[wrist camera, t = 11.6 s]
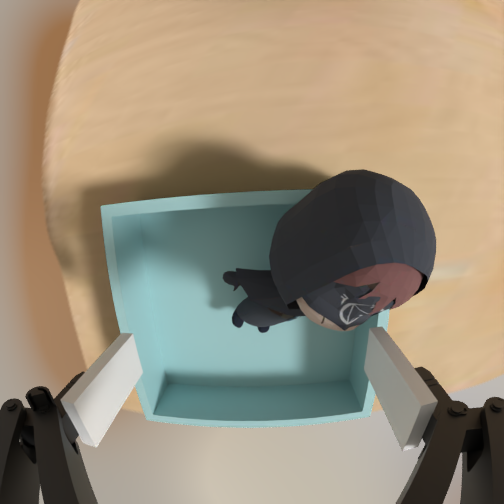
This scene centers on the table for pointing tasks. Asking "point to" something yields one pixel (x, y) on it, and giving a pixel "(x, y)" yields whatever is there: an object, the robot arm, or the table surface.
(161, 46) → the table surface
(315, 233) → the toy
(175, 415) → the bin
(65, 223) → the table surface
